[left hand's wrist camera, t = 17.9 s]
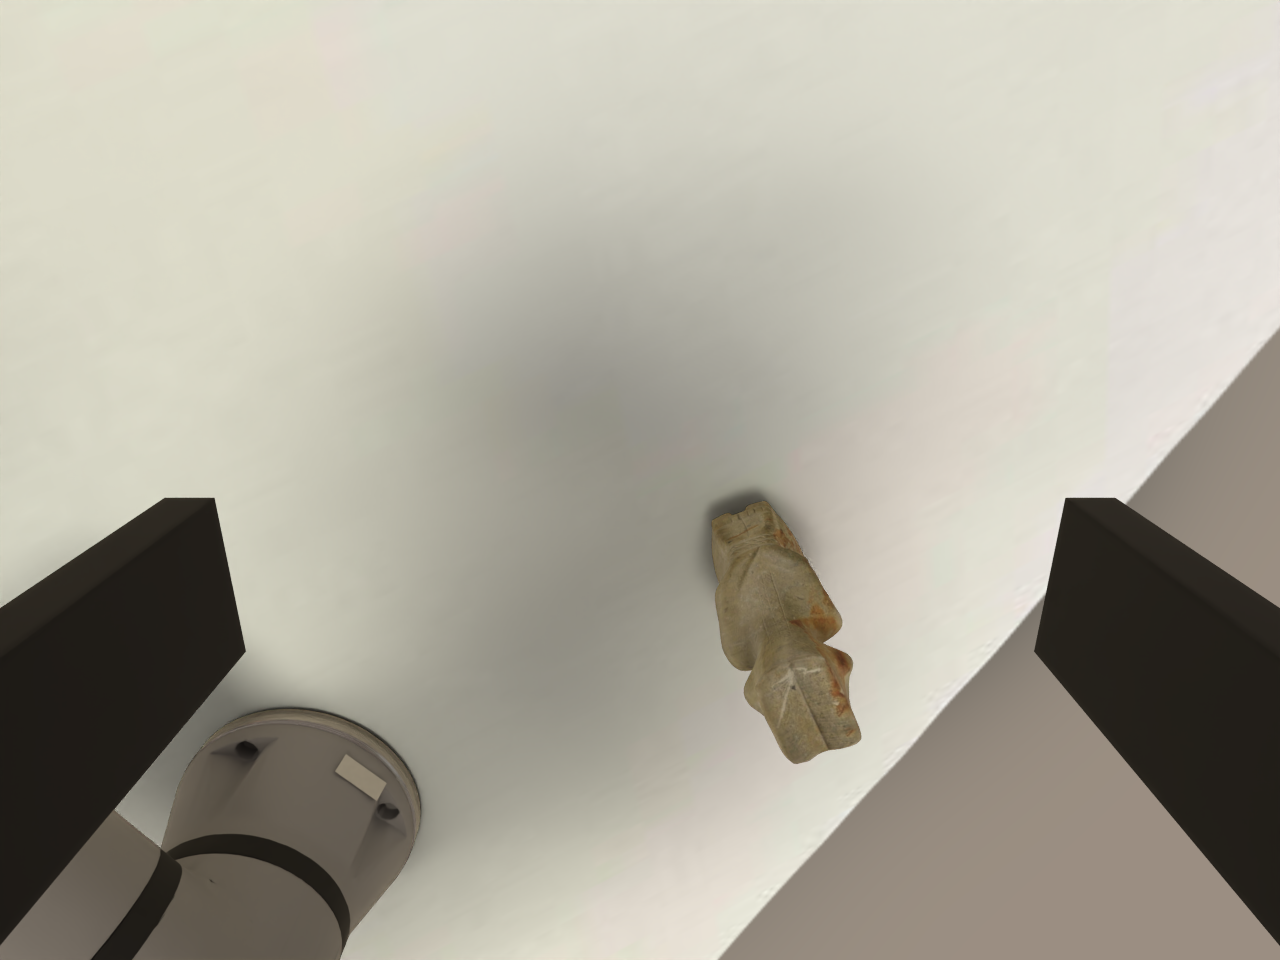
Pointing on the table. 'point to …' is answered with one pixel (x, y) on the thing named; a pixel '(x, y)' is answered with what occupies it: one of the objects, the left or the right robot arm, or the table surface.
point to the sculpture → (782, 633)
